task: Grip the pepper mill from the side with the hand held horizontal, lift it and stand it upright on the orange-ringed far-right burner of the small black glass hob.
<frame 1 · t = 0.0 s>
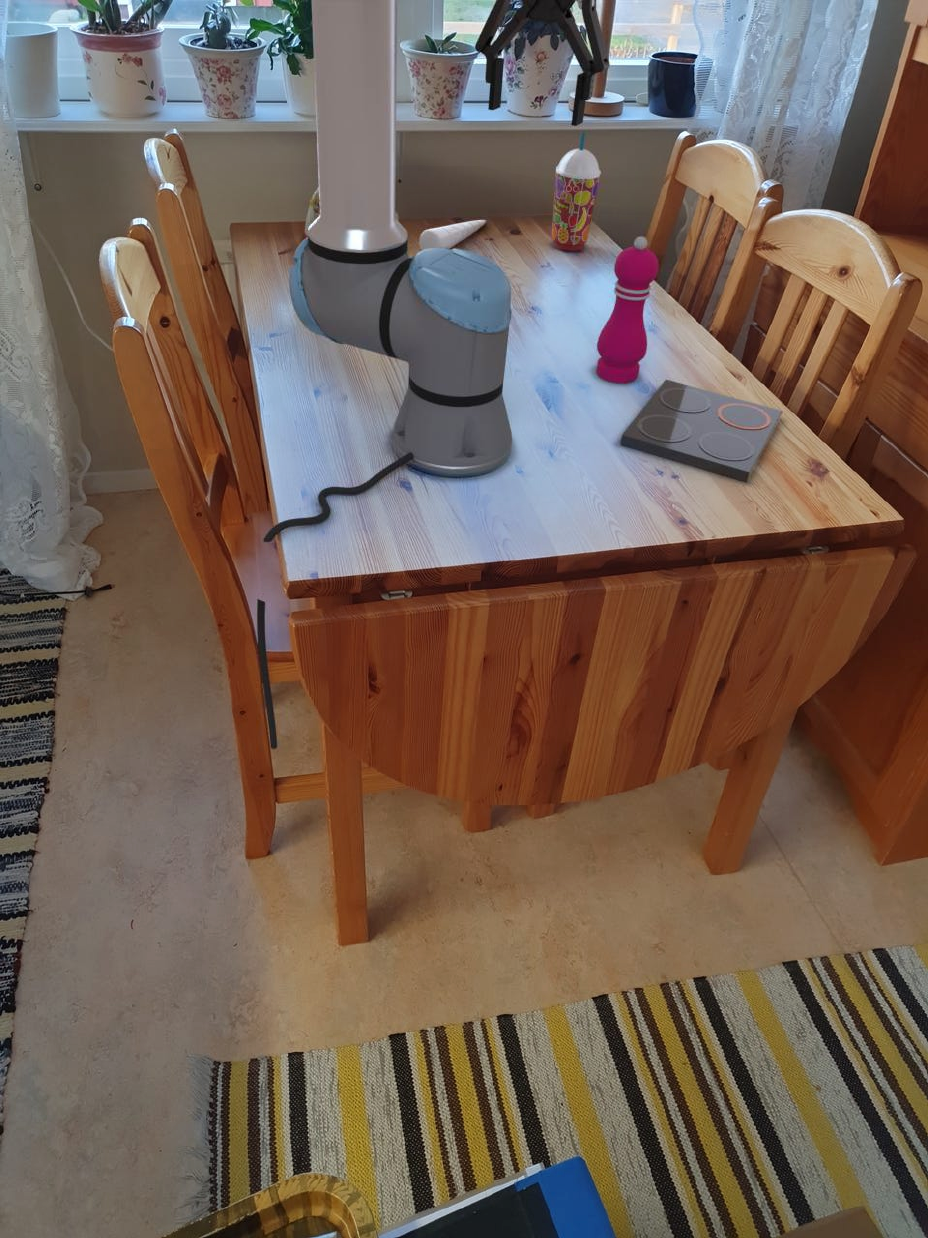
hand: (535, 116, 138), 28 cm above the table, tool pointing down, fingers open, 13 cm apart
pepper mill: (616, 375, 137), on the table
skull with red mohawk: (342, 242, 173), on the table
hob: (702, 432, 125), on the table
owl figurine: (354, 281, 159), on the table
smoothie: (568, 247, 178), on the table
unicorn horn: (455, 242, 176), on the table
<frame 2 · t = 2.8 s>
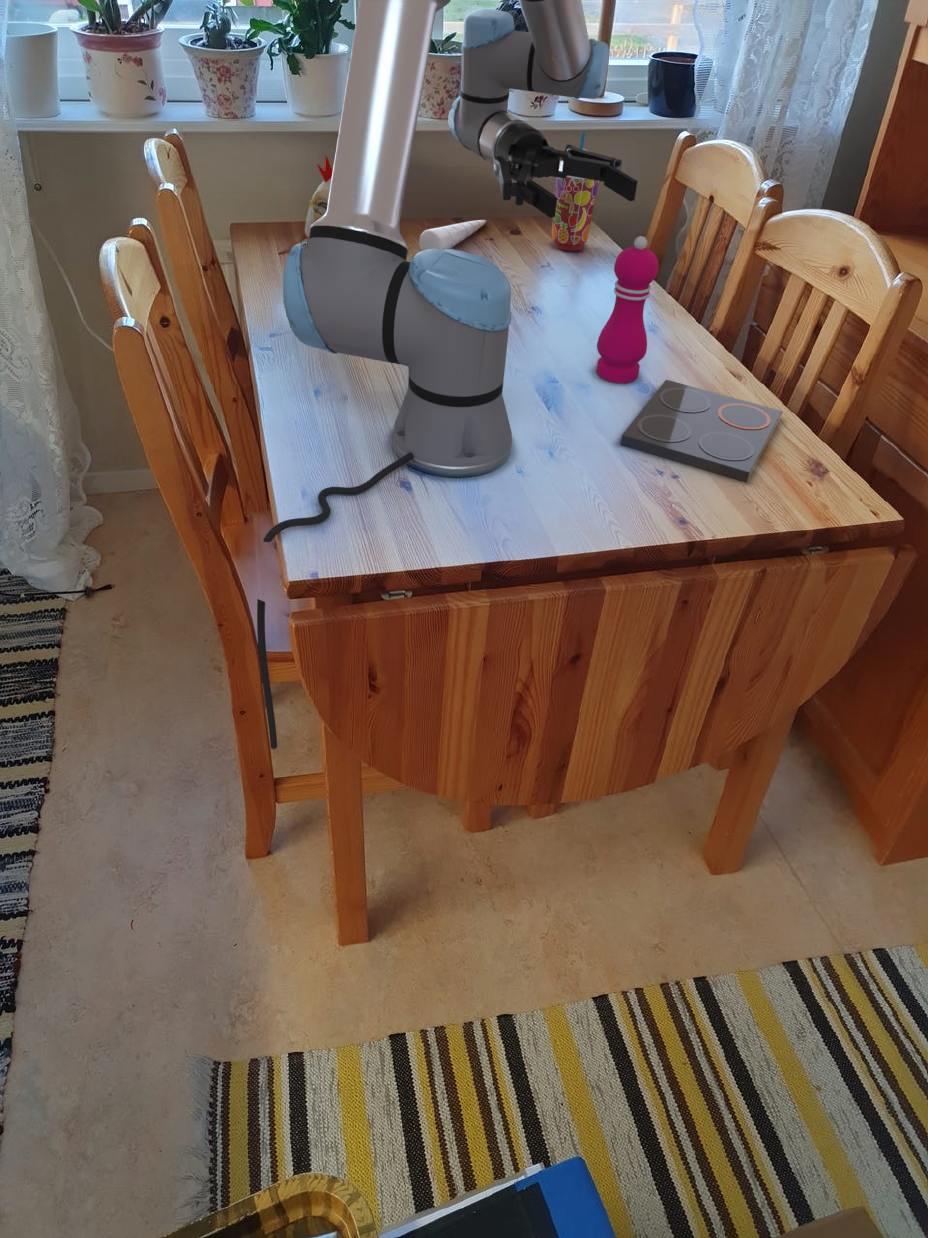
hand: (594, 199, 128), 22 cm above the table, tool horizontal, fingers open, 13 cm apart
nothing on the table moved.
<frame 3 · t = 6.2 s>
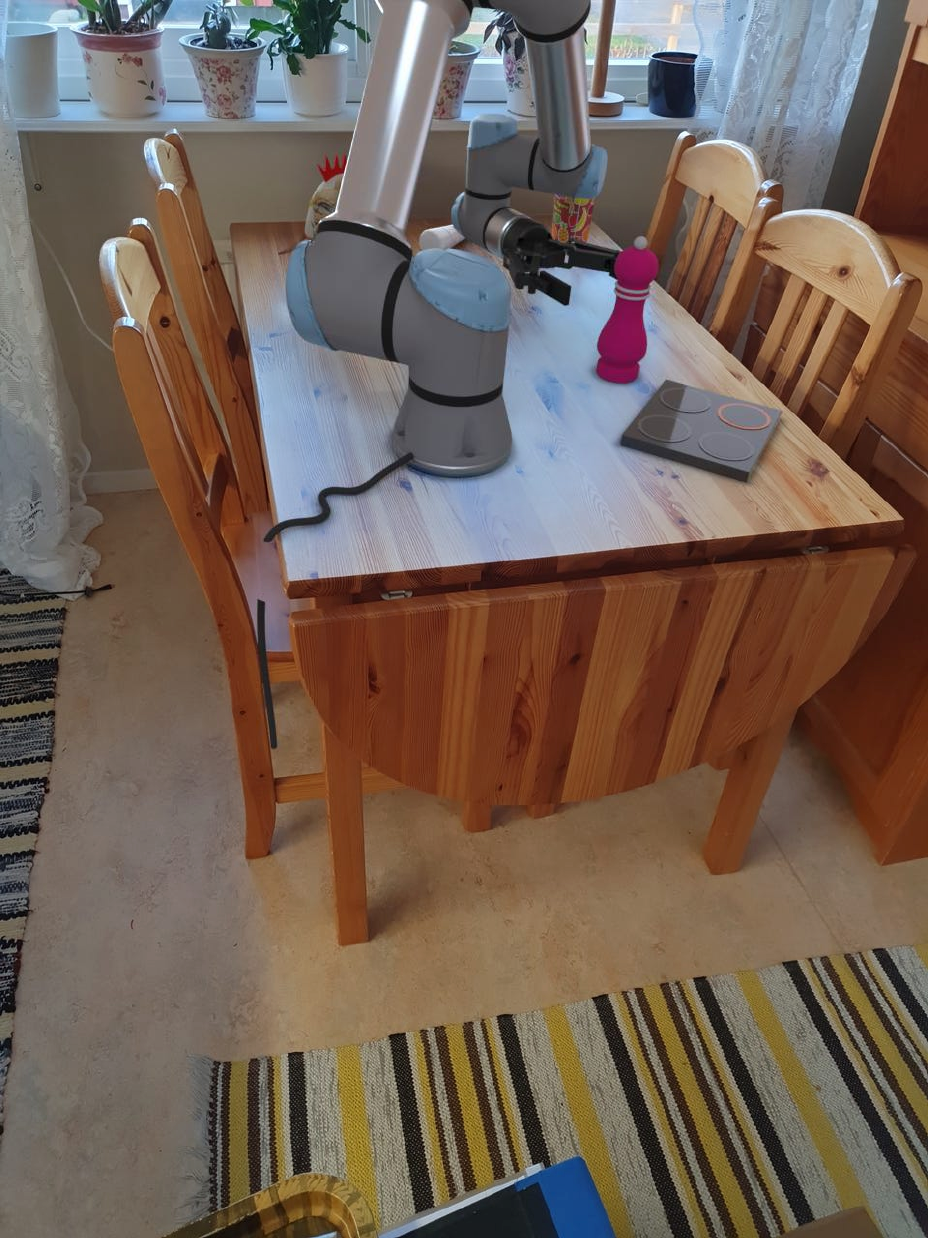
hand: (605, 288, 133), 11 cm above the table, tool horizontal, fingers open, 13 cm apart
nothing on the table moved.
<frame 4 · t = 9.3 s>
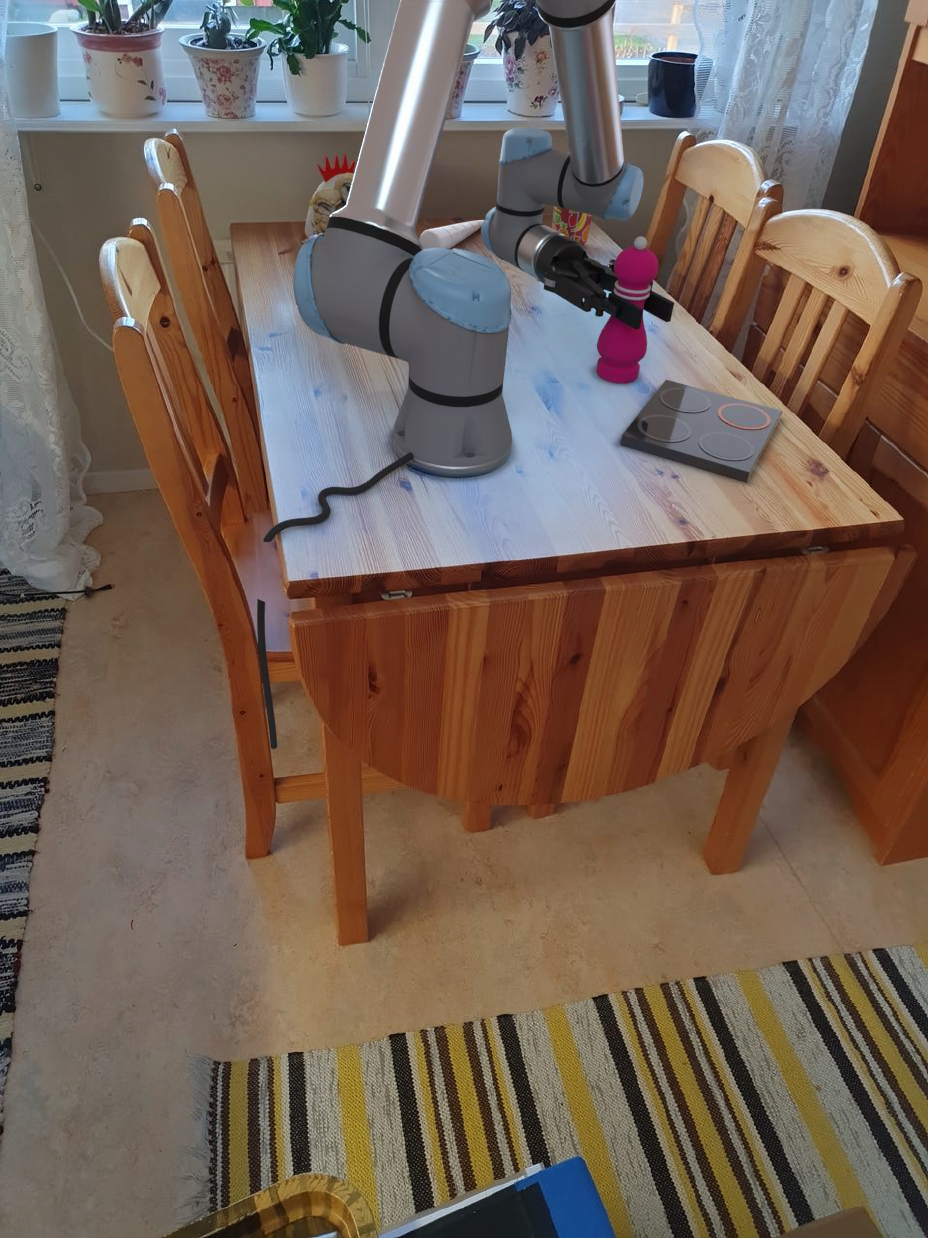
hand: (654, 315, 127), 11 cm above the table, tool horizontal, fingers closed on pepper mill, 5 cm apart
pepper mill: (616, 375, 137), on the table, touching gripper
everything else where it was.
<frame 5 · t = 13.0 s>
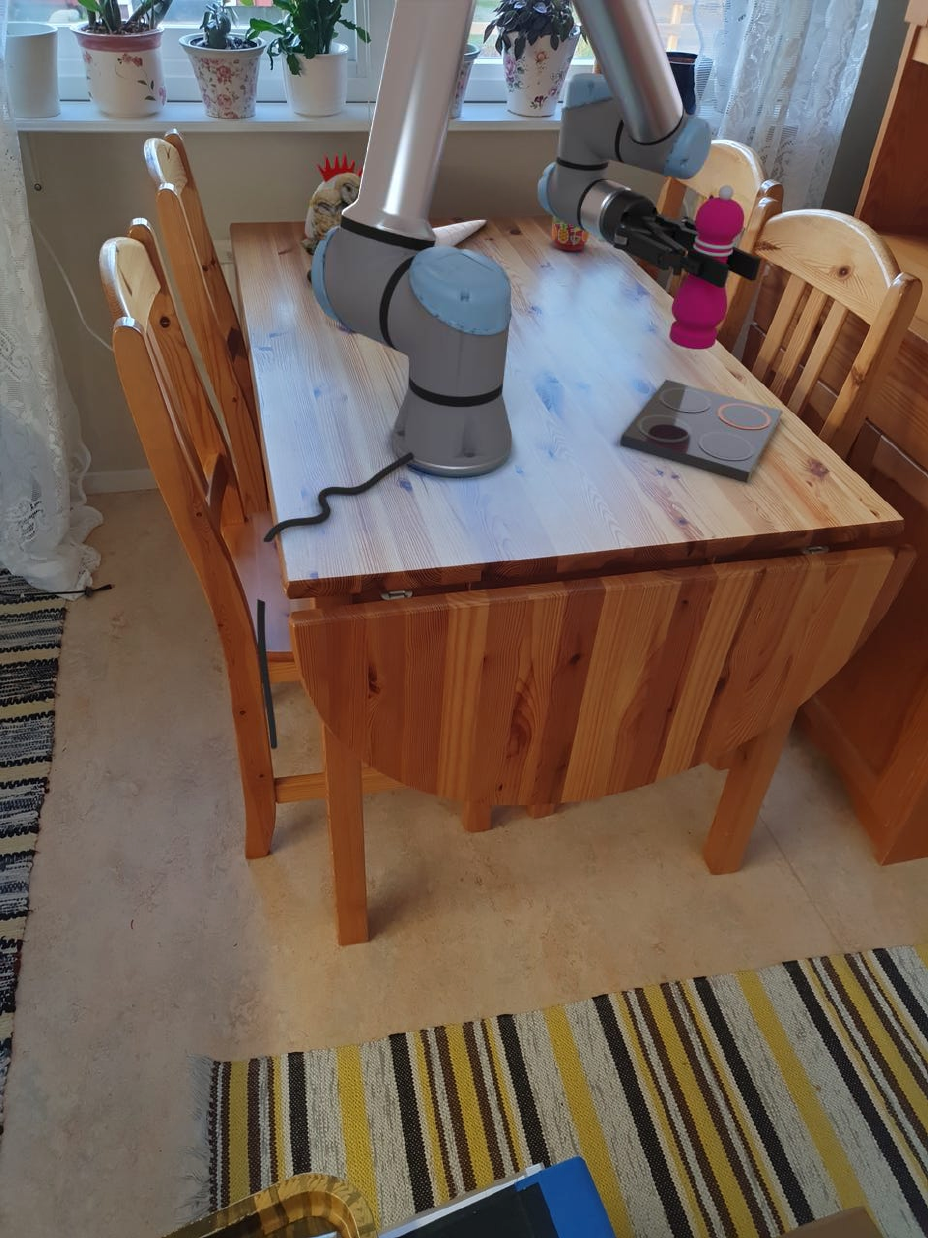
hand: (740, 273, 116), 20 cm above the table, tool horizontal, fingers closed on pepper mill, 5 cm apart
pepper mill: (691, 341, 127), point 9 cm above the table, touching gripper
everything else where it was.
when the fingers open (13 cm above the table, at t = 16.9 s): pepper mill stays where it is, resting on hob.
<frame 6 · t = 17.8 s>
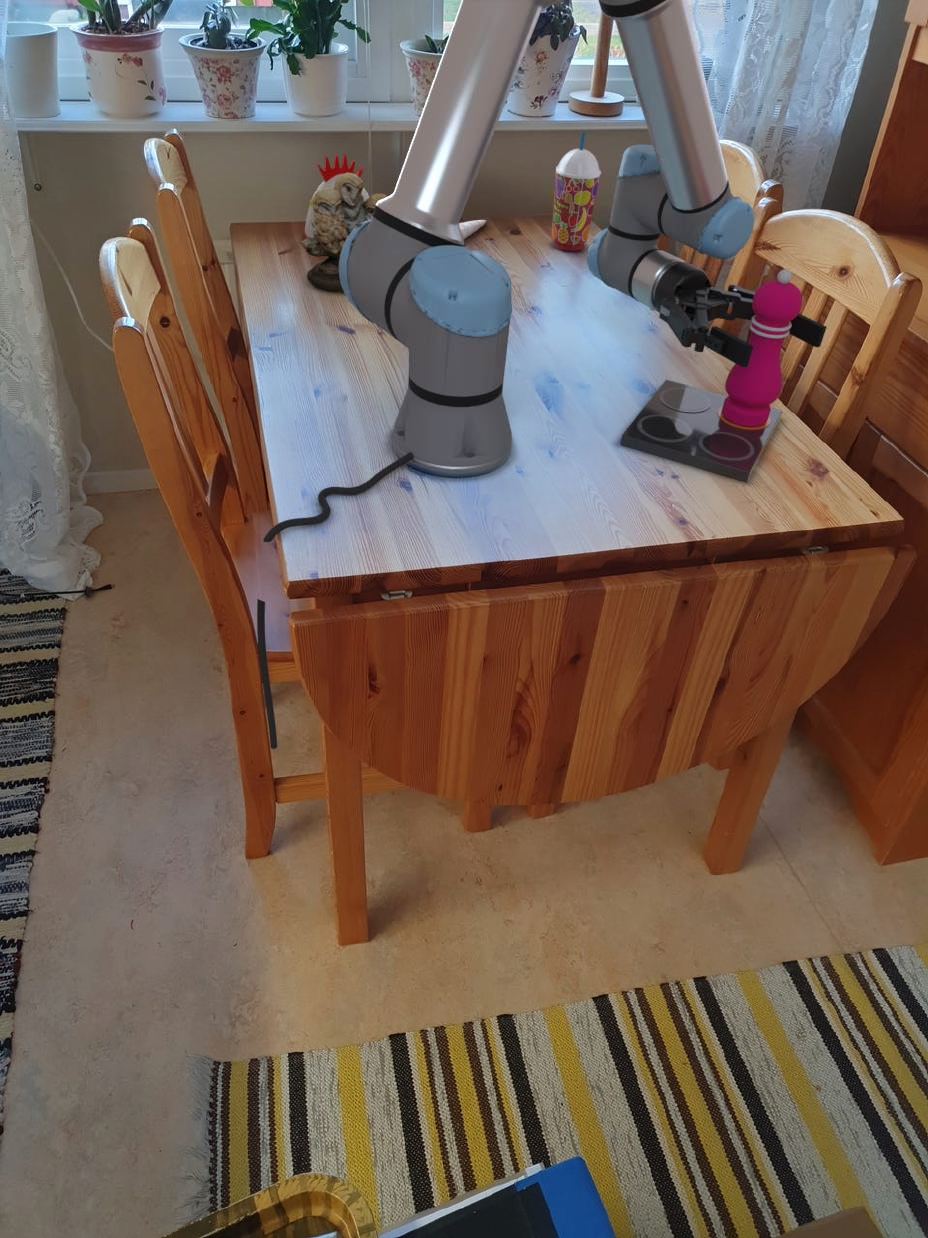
hand: (786, 346, 117), 13 cm above the table, tool horizontal, fingers open, 13 cm apart
pepper mill: (744, 416, 126), point 1 cm above the table, touching hob
everything else where it was.
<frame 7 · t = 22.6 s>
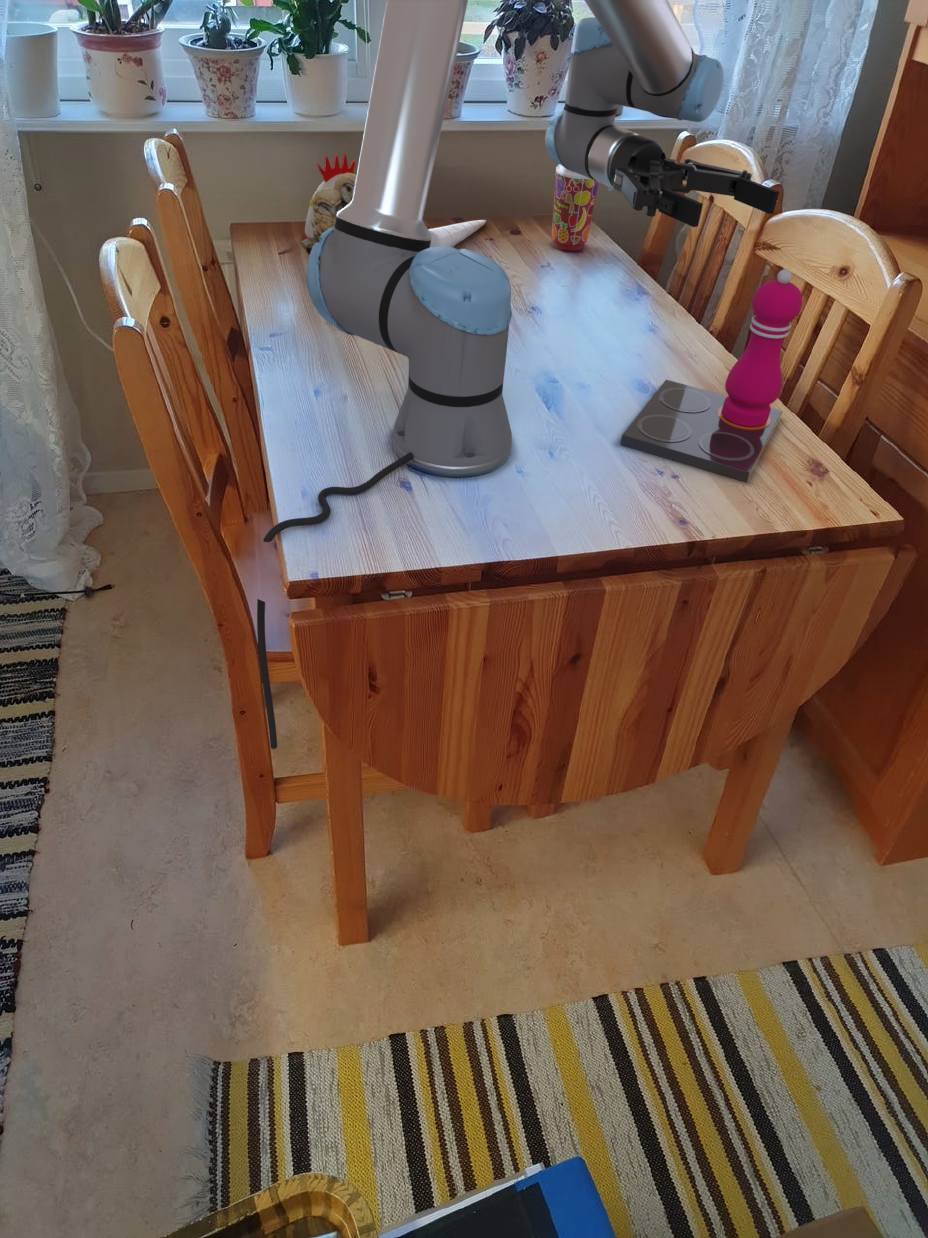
hand: (737, 208, 116), 26 cm above the table, tool horizontal, fingers open, 13 cm apart
nothing on the table moved.
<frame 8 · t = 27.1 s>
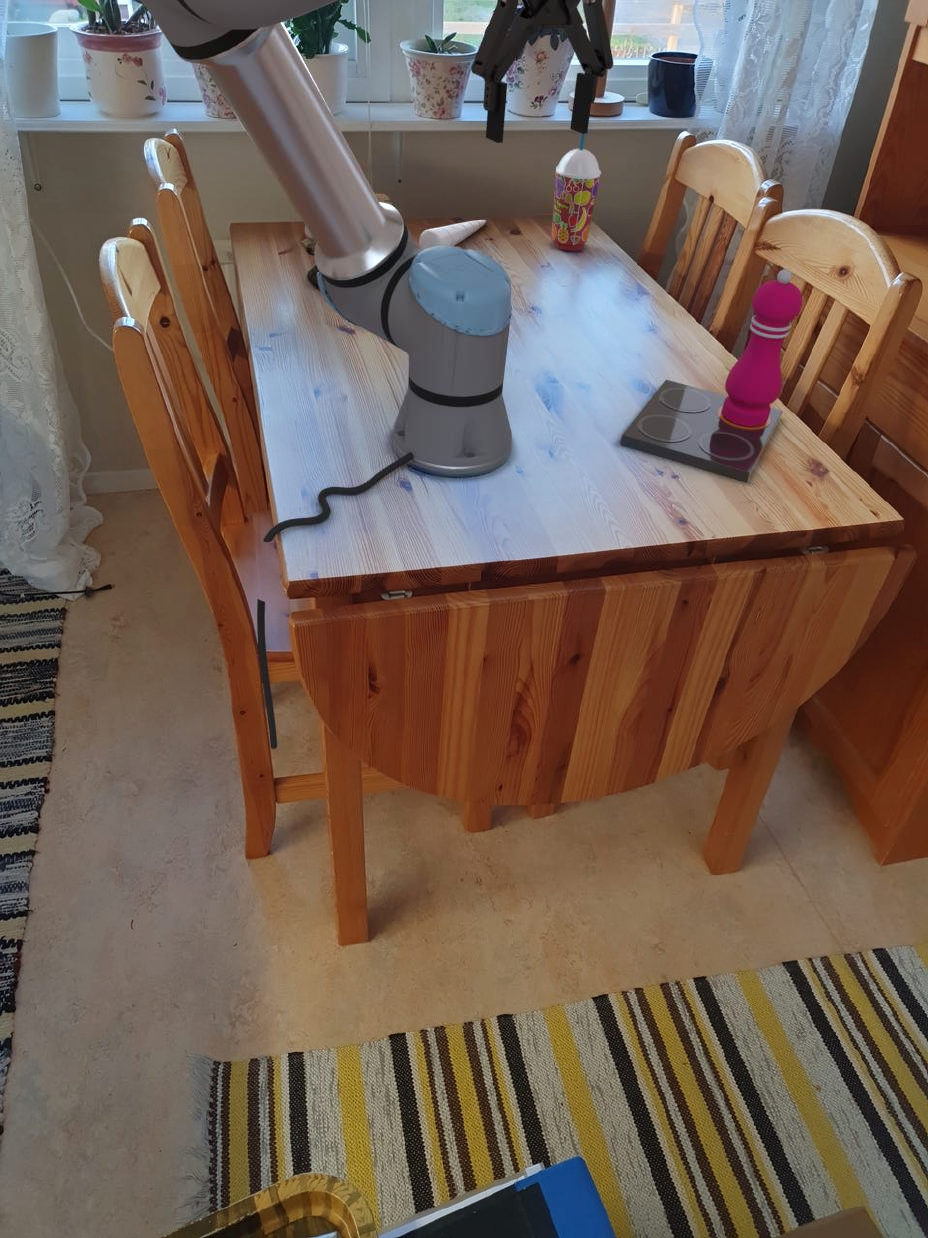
hand: (537, 135, 119), 31 cm above the table, tool pointing down, fingers open, 13 cm apart
nothing on the table moved.
at the end: pepper mill 0.0 cm from the target spot on the hob, point 1.4 cm above the hob's base; pepper mill tilted 0°; the gripper is holding nothing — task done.
